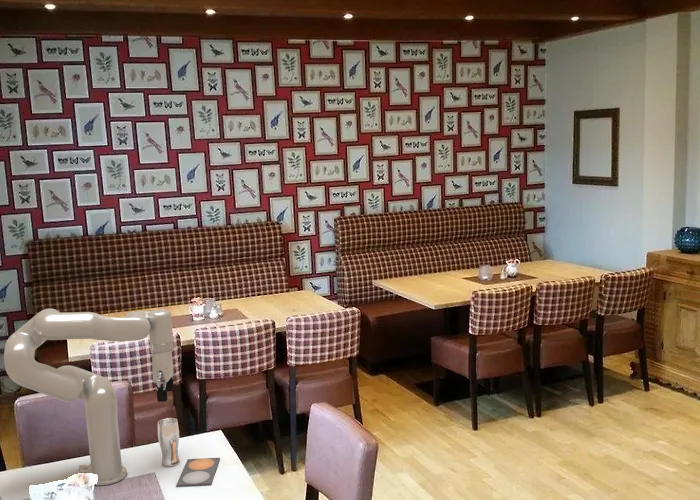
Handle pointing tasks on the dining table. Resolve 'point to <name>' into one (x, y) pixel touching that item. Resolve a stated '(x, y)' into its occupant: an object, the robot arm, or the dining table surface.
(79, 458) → the dining table surface
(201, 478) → the mat
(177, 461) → the beer glass
